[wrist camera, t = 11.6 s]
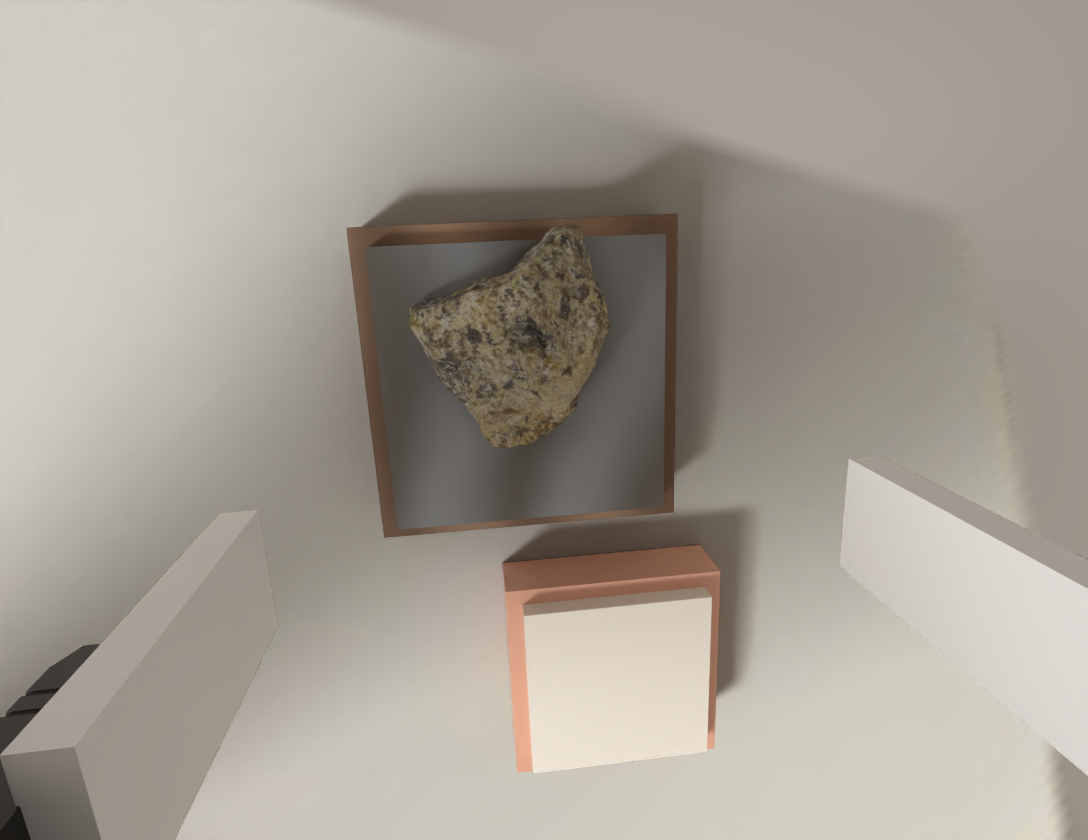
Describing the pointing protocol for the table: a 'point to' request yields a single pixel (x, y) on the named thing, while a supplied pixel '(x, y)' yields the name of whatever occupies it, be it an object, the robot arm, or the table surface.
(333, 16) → the table surface
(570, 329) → the rock
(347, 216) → the table surface
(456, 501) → the walnut plinth
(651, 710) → the terracotta plinth
